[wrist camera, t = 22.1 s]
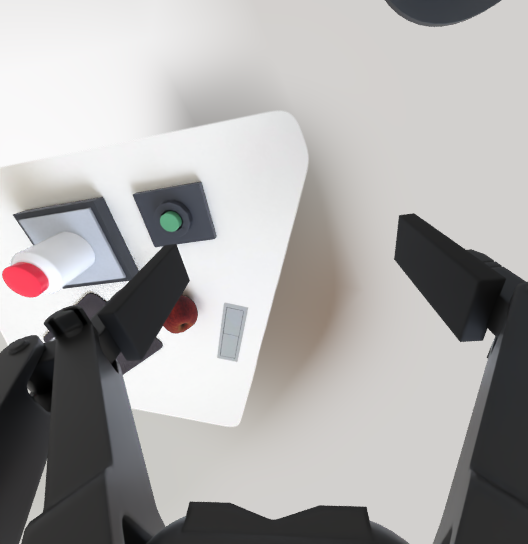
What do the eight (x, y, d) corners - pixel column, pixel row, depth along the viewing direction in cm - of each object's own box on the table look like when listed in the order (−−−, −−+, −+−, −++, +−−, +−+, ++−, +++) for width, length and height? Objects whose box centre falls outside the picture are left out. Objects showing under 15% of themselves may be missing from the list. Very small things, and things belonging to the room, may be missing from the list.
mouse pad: (90, 290, 56) (90, 291, 55) (165, 345, 63) (165, 345, 63) (41, 339, 65) (40, 340, 64) (111, 382, 72) (111, 382, 72)
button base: (201, 181, 43) (196, 185, 40) (216, 236, 47) (212, 242, 45) (136, 192, 44) (127, 197, 42) (157, 244, 49) (151, 251, 46)
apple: (188, 320, 59) (176, 346, 52) (160, 301, 56) (143, 326, 49) (207, 303, 56) (197, 328, 49) (178, 282, 53) (163, 305, 46)
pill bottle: (89, 234, 45) (38, 263, 35) (99, 271, 49) (55, 306, 39) (46, 229, 45) (-16, 256, 35) (60, 266, 49) (6, 300, 39)
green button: (178, 209, 42) (174, 212, 41) (184, 227, 44) (181, 230, 43) (160, 212, 43) (156, 215, 42) (167, 229, 44) (163, 233, 43)
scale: (102, 196, 45) (90, 201, 42) (139, 273, 53) (131, 281, 50) (26, 210, 47) (9, 215, 44) (72, 281, 55) (60, 290, 52)
